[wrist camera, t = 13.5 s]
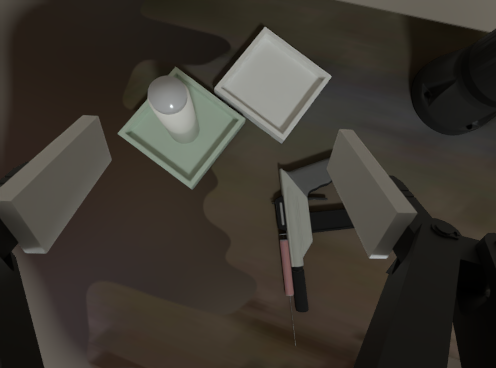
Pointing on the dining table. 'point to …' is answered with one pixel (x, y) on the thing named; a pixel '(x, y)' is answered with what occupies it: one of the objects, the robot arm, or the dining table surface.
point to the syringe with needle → (303, 223)
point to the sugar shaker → (174, 108)
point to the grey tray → (272, 84)
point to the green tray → (191, 154)
